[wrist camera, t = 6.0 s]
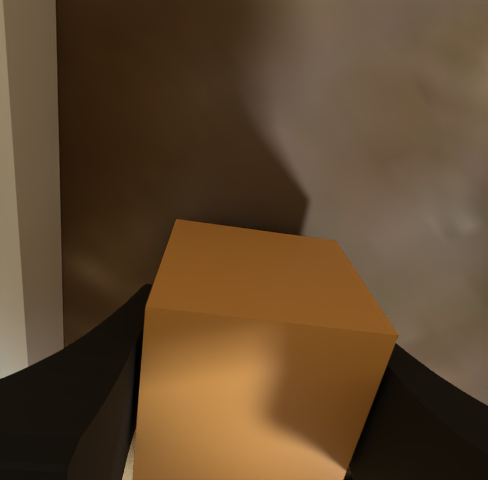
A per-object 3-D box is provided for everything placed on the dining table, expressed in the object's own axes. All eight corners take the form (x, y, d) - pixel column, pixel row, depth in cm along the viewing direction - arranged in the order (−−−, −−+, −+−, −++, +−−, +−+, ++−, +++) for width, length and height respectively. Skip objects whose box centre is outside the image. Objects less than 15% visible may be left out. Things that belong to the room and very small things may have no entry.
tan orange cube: (336, 240, 13) (398, 335, 8) (301, 365, 15) (335, 499, 10) (176, 218, 12) (145, 306, 8) (163, 351, 14) (132, 485, 10)
